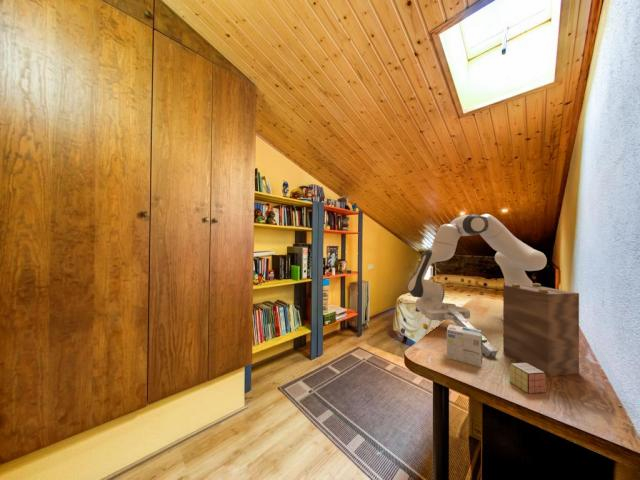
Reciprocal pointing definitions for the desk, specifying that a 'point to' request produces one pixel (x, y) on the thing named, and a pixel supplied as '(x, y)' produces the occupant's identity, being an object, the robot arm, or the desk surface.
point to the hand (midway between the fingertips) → (458, 318)
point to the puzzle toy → (527, 377)
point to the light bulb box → (464, 345)
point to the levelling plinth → (542, 328)
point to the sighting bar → (462, 322)
